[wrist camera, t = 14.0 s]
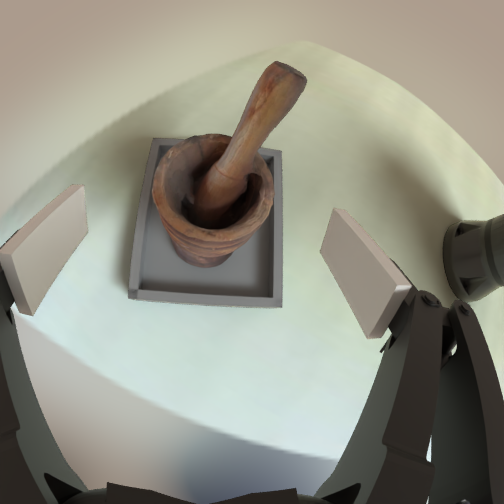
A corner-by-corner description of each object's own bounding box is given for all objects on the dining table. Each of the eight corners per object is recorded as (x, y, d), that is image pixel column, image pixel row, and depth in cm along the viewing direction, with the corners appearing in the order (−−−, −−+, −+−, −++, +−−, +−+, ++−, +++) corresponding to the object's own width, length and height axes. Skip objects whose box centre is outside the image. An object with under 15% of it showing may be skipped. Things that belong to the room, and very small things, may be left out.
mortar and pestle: (190, 170, 32) (197, 30, 13) (257, 189, 34) (325, 66, 14) (158, 259, 29) (105, 169, 10) (233, 281, 30) (299, 224, 11)
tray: (275, 162, 36) (281, 150, 33) (274, 308, 32) (282, 307, 29) (155, 150, 33) (153, 137, 30) (134, 299, 29) (127, 298, 26)
